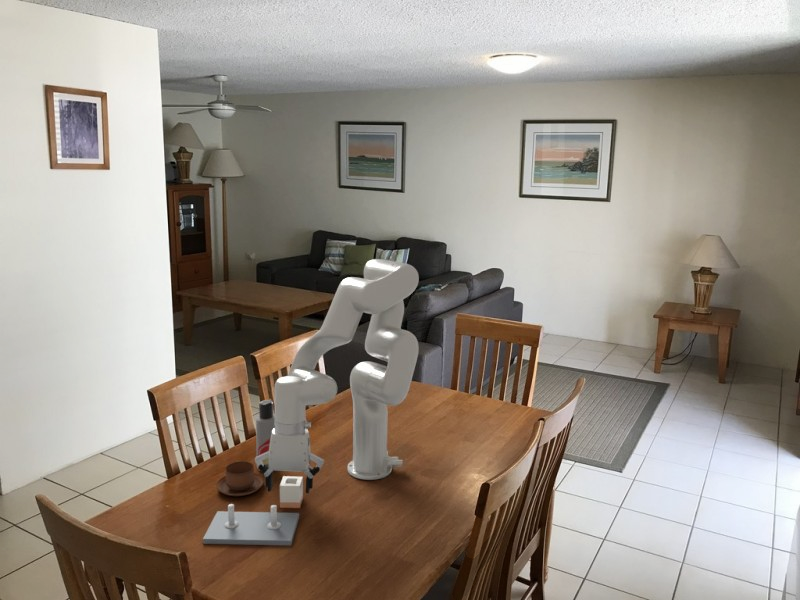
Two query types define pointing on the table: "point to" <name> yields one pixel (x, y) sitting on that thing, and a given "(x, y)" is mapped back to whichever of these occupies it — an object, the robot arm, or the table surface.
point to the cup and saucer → (239, 479)
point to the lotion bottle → (264, 428)
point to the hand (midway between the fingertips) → (289, 490)
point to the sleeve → (291, 492)
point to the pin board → (252, 527)
